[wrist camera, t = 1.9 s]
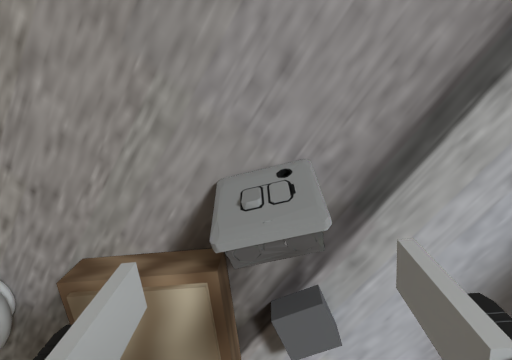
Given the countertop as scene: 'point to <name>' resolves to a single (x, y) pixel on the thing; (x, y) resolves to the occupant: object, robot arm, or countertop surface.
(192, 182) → the countertop surface
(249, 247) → the electrical switch
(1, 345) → the flower vase
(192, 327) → the wooden box
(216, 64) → the countertop surface
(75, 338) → the robot arm
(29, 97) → the countertop surface
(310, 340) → the rubber block
